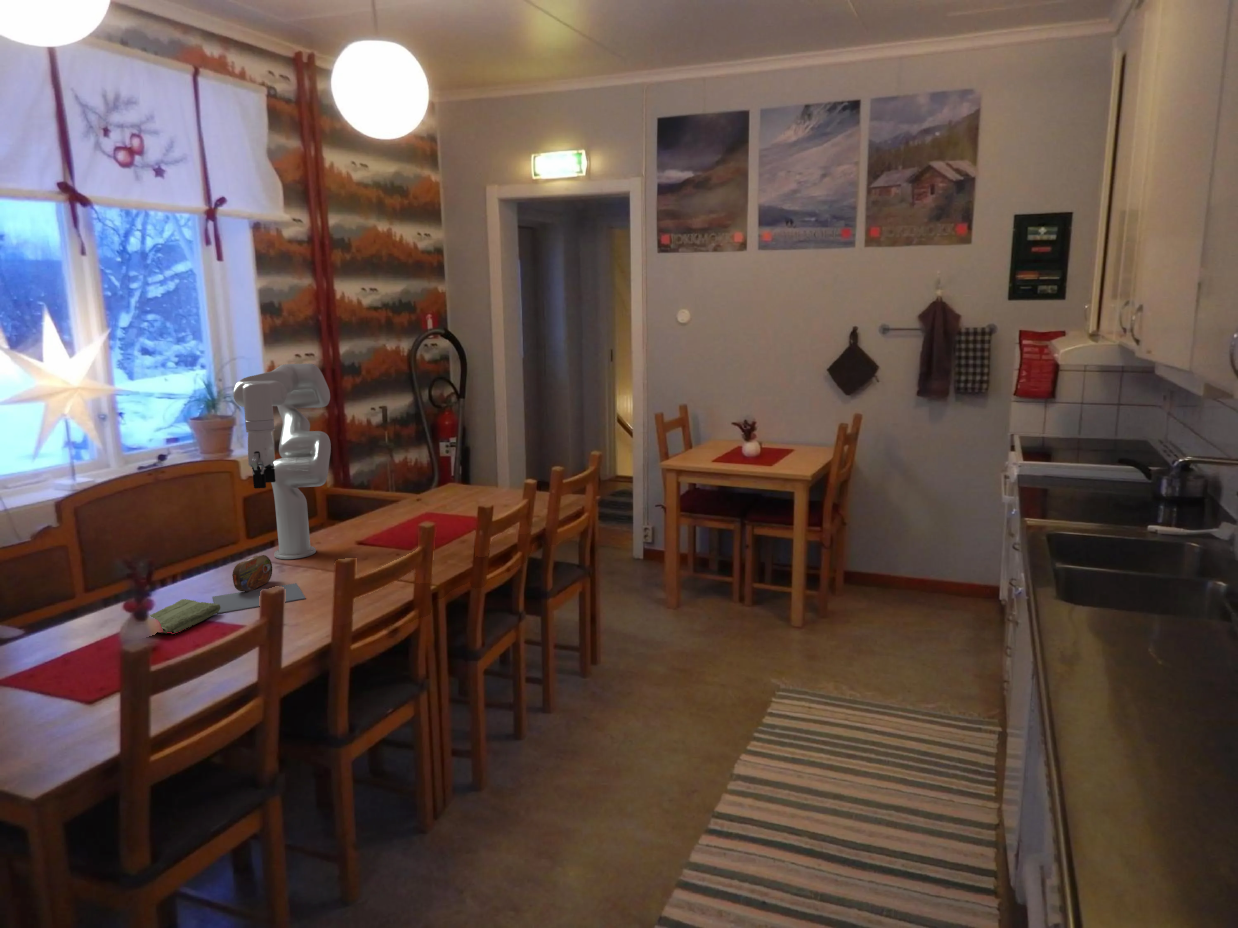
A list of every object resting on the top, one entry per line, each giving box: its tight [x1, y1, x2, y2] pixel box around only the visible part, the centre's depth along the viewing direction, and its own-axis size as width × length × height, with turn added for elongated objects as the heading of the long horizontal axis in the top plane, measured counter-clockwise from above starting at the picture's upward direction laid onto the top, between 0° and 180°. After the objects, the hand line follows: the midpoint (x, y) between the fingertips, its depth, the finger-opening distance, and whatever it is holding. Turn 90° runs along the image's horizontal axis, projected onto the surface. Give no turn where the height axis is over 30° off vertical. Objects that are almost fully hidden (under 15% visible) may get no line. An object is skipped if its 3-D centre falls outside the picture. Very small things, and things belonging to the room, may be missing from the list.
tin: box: [231, 554, 273, 592], centre depth 240 cm, size 15×3×8 cm, turn 168°
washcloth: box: [149, 598, 221, 634], centre depth 214 cm, size 13×18×3 cm
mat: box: [211, 582, 307, 615], centre depth 232 cm, size 15×22×1 cm
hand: (265, 485), depth 244 cm, fingers open, 9 cm apart
